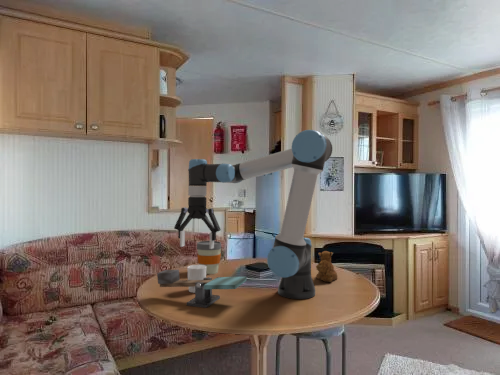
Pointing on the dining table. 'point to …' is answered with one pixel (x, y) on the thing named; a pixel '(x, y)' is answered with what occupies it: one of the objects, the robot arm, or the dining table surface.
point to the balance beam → (172, 280)
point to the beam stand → (203, 296)
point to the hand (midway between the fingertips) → (196, 247)
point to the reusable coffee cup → (209, 256)
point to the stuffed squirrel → (326, 268)
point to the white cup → (196, 274)
